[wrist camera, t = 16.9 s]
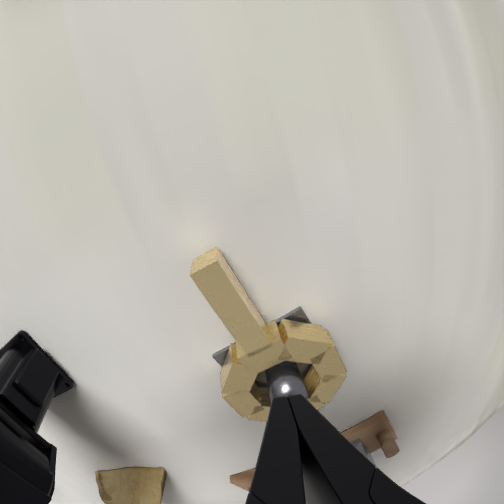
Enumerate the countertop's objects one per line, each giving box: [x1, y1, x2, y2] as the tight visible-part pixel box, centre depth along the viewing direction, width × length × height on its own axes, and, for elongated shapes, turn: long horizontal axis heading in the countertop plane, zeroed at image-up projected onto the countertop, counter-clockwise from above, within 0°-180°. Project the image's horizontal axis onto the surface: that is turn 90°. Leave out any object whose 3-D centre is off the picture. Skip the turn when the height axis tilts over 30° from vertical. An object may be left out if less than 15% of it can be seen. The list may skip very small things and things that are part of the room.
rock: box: [95, 467, 166, 504], centre depth 24 cm, size 10×8×10 cm
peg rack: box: [230, 410, 399, 491], centre depth 26 cm, size 19×7×4 cm, turn 122°
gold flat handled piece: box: [190, 247, 347, 421], centre depth 18 cm, size 14×8×2 cm, turn 28°
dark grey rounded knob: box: [213, 307, 312, 402], centre depth 19 cm, size 7×7×4 cm
